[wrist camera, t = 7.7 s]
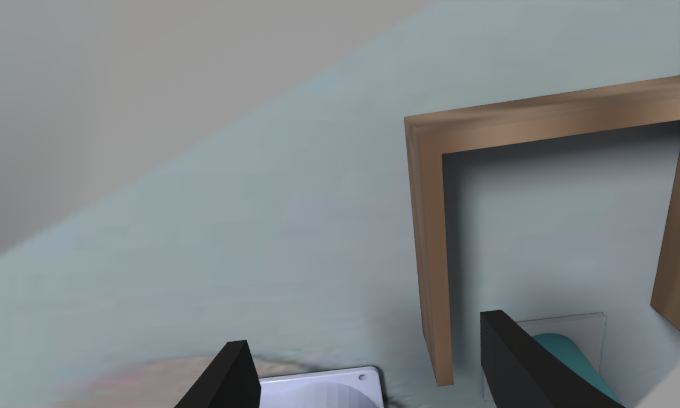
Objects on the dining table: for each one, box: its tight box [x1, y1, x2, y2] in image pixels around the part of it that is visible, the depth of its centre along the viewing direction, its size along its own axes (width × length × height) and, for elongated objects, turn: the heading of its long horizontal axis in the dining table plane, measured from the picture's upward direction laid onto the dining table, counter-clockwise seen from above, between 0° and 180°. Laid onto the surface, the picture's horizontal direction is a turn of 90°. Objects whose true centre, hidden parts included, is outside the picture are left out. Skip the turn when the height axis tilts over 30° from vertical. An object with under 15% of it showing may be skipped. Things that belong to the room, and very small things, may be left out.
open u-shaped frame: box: [404, 75, 680, 386], centre depth 19 cm, size 14×13×4 cm
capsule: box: [532, 333, 623, 406], centre depth 21 cm, size 4×4×6 cm
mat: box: [482, 312, 606, 401], centre depth 24 cm, size 7×6×1 cm
